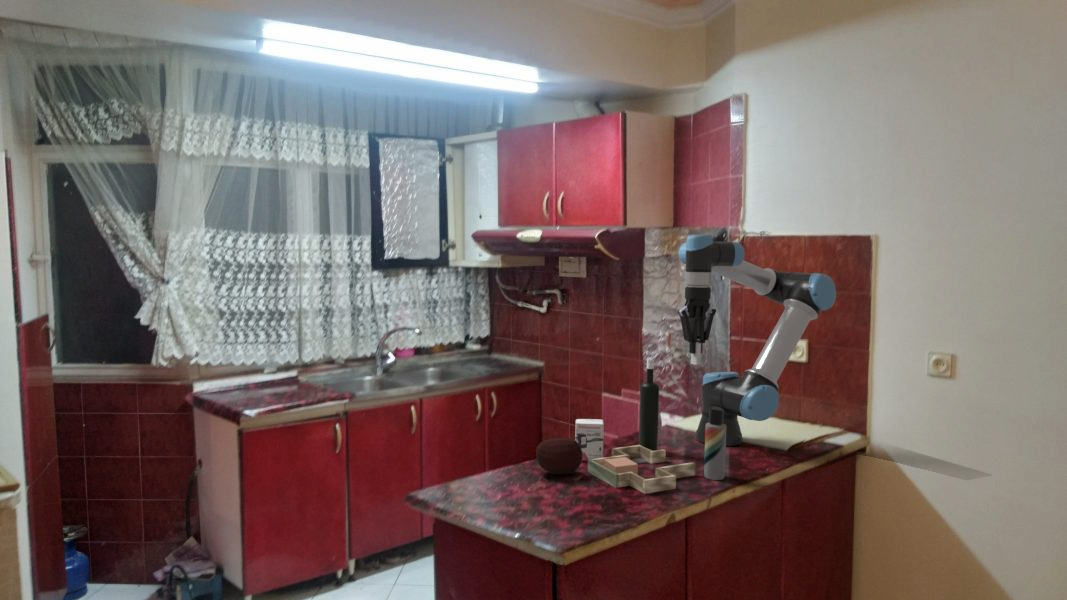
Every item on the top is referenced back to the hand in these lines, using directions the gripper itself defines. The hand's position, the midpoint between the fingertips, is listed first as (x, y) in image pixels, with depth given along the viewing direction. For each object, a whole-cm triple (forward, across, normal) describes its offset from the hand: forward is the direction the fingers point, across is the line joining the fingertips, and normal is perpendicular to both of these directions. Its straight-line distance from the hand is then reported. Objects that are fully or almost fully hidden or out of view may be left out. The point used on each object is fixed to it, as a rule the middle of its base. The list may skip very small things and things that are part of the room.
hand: (695, 364), depth 217 cm
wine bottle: (+30, +8, -12) cm, 33 cm away
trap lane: (+29, +22, +5) cm, 37 cm away
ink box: (+30, +29, -13) cm, 43 cm away
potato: (+30, +44, -4) cm, 53 cm away
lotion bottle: (+30, +5, +16) cm, 34 cm away
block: (+30, +29, +5) cm, 42 cm away
